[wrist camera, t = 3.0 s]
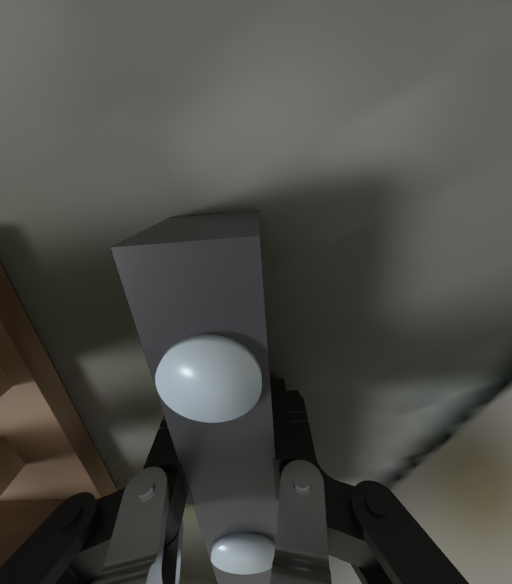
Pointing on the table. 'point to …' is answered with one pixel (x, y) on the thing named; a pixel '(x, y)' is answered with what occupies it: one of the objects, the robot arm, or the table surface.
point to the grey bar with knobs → (211, 375)
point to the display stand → (37, 433)
